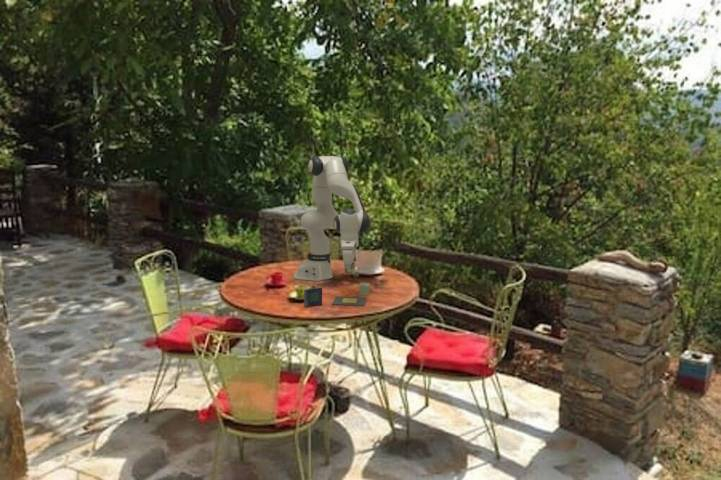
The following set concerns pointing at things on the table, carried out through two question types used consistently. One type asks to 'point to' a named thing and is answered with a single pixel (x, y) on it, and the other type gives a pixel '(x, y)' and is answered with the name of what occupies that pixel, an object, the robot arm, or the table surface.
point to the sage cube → (364, 288)
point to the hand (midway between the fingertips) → (349, 270)
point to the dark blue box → (313, 296)
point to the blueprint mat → (349, 301)
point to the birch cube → (353, 269)
